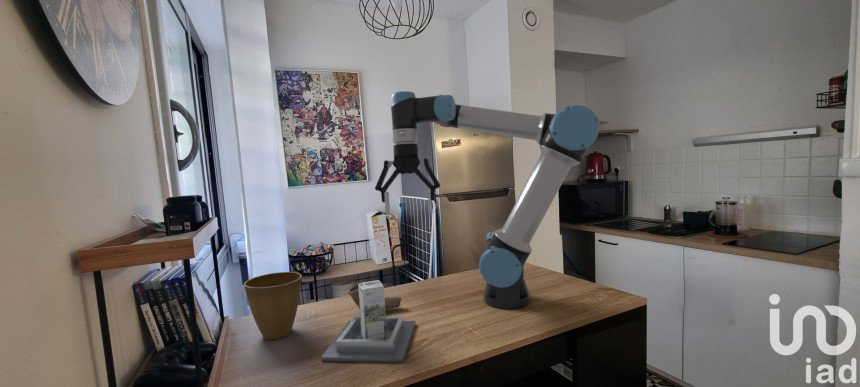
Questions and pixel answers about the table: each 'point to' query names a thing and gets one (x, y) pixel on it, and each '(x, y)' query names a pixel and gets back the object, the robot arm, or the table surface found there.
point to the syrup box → (372, 310)
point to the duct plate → (371, 343)
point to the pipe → (389, 301)
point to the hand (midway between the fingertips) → (408, 212)
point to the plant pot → (274, 302)
